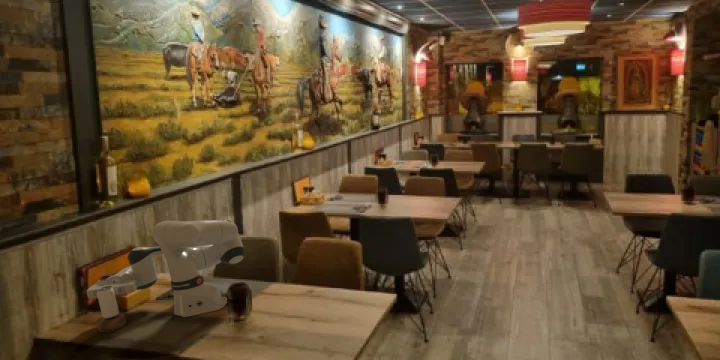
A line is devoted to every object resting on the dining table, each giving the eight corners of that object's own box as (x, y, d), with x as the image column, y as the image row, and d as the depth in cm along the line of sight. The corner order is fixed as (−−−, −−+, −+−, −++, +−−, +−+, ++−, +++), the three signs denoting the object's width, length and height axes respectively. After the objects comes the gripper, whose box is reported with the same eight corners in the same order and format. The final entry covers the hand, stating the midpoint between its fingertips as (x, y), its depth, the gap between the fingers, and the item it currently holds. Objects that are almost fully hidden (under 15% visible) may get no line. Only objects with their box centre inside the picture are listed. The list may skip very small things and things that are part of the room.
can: (112, 318, 235) (106, 290, 233) (99, 319, 236) (92, 291, 235) (122, 311, 241) (116, 284, 239) (109, 312, 243) (103, 286, 241)
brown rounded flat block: (131, 319, 244) (129, 311, 244) (120, 330, 233) (118, 321, 233) (105, 323, 245) (103, 314, 244) (93, 334, 234) (91, 325, 233)
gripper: (143, 287, 250) (130, 299, 236) (97, 294, 251) (82, 306, 237) (140, 274, 249) (127, 284, 235) (94, 280, 250) (78, 291, 236)
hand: (104, 295), depth 236 cm, fingers closed on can, 4 cm apart
